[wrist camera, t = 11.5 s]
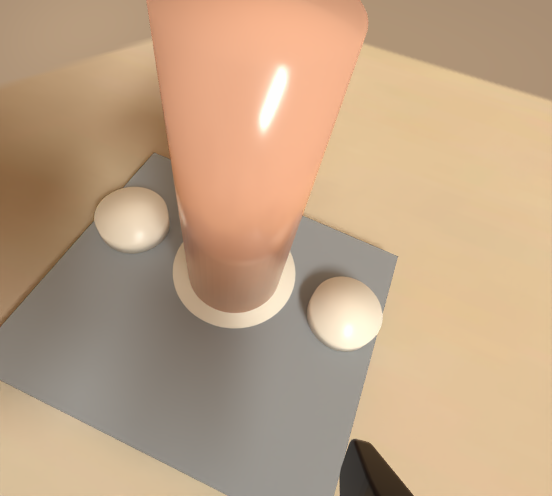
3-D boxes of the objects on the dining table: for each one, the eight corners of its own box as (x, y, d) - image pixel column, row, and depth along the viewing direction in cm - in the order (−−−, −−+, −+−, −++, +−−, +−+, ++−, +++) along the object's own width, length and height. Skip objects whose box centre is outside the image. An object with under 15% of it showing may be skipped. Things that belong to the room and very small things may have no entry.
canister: (231, 332, 17) (257, 101, 6) (168, 265, 19) (97, -27, 7) (298, 273, 19) (409, 22, 8) (238, 216, 21) (263, -67, 10)
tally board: (315, 538, 15) (328, 548, 13) (-20, 369, 16) (-47, 358, 14) (390, 264, 22) (405, 247, 20) (156, 163, 23) (151, 140, 21)
